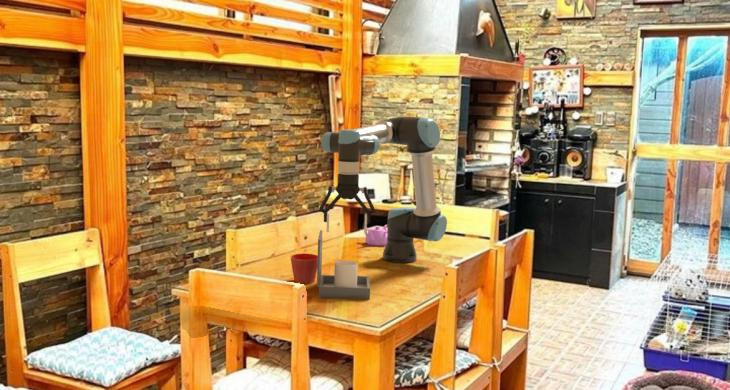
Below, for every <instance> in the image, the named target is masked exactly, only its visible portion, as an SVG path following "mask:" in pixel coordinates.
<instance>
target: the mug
mask: <svg viewBox="0 0 730 390" xmlns="http://www.w3.org/2000/svg"><path fill="white" fill-rule="evenodd" d="M358 266H359V263H358V262H357V261H354V260H347V259H346V260H337V261H334V272H333V273H334V274H333V275H334V287H357V276H358V271H359V270H358Z"/></svg>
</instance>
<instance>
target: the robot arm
mask: <svg viewBox="0 0 730 390" xmlns="http://www.w3.org/2000/svg"><path fill="white" fill-rule="evenodd" d="M440 130H441V129H440V127H439V125H438V122H436V121H435V119H433V118H428V117H427V118H426V117H419V116H418V117H415V116H413V117H412V116H409V117H408V116H396V117H393V118H392V117H391V118H388V119H383V120H379V121H377V122H376V123H374V124H372V125H367V126H363V127H359V128H353V129H341V130H339V131H337V132H333V131H328V132H325V133H324V134H323V135H322V137H321V140H320V141H321V142H320V143H321V145H320V146H321V148H322V150H323V151H324V152H327V153H328V152H329V153H337V154H338V158H337V159H338V160H337V172H338V174H337V184H336V186H332V185H329V186H328V190H327V191H328V192H327V194H325V197H324V199H323V201H322V202H321V204H320V206H319V209H318V211H319V212H321V213H323V222H324V223H326V233H328V232H330V210H331V209H332V208H333V207H334V206H335V204H337V203H338V202H339V200H340V199H342V200H353V199H354V200H355V201H356V202H357V203H358V205H359V206H360V207H361V208H362V209H363V211H364V212H365V214H364V227H363V228H364V229H363V231H364V232H363V233H364V234H365V233H368V230H367V228H368V226H367V225H368V224H370V223H371V215H372V214H375V213H376V209H375V207H374V204H373V202H372V200H371V198H370V196H369V194H368V187H367V186H363V187H359V179H360V175H359V174H358V173H359V172H360V156H371V155H375V154H377V153H378V152H379V150H380V148H381V144H382V145H386V144H392V145H394V144H395V145H401V146H406V148H407V150H406V151H407V153H409V154H410V155H411V164H412V173H413V183H414V194H415V205H416V207H412V206H408V207H407V206H404V207H395V208H391V209H389V210H388V215H387V231H388V232H387V243H386V245H385V246H384V248H383V252H382V259H383V261H386V262H390V263H397V264H398V263H401V264H402V263H403V264H405V263H406V264H407V263H413V262H416V261H417V258H418V256H417V251H416V247H415V245H414V239H416V240H422V241H428V242H439V241H440V240H441V239H443V237H444V235H445V233H446V230H447V226H448V225H447V224H448V219H447V216H445V215H444V214H441V213H442V212H441V208H440V207H439V206H438V205H437V195H436V182H435V174H434V173H435V171H434V160H433V152H434V151H435V150H436V147H437V146H438V145H439V142H440V138H441V131H440ZM335 191H336V193H337V195H336V197H334V199H333V200H332V201H331V202H330V203H329V204H328V205H327V203H328V201H329V199H330V198H331V195H332V193H334V192H335ZM360 192H361V194H363V195H364V198H365V199H366V202H367V205H368V207H370V209H369V208H368V207H367V206H366V204H365V203H364V202H363V201H362V199H361V198H360V196H359V195H358V194H359V193H360ZM326 205H327V207H326V208H325V206H326Z"/></svg>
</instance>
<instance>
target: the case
mask: <svg viewBox="0 0 730 390" xmlns="http://www.w3.org/2000/svg"><path fill="white" fill-rule="evenodd" d="M317 256H318V261H317V272H316V287H317V288H318V298H319V299H345V300H350V299H351V300H371V284H370V283H371V282H370V276H369V275H366V276H365V275H357V287H334V274H322V270H323V269H322V268H323V264H322V263H323V230H322V229H321V230H319V234H318V238H317Z"/></svg>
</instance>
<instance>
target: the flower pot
mask: <svg viewBox="0 0 730 390" xmlns="http://www.w3.org/2000/svg"><path fill="white" fill-rule="evenodd" d="M317 261H318V254H315V253H304V252H303V253H295V254H292V255H290V262H291V269H292V274H293V280H294V282H295V281H296V282H295V283H297V282H300V283H299V284H312V283H314V282H315V280H316V278H317Z"/></svg>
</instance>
